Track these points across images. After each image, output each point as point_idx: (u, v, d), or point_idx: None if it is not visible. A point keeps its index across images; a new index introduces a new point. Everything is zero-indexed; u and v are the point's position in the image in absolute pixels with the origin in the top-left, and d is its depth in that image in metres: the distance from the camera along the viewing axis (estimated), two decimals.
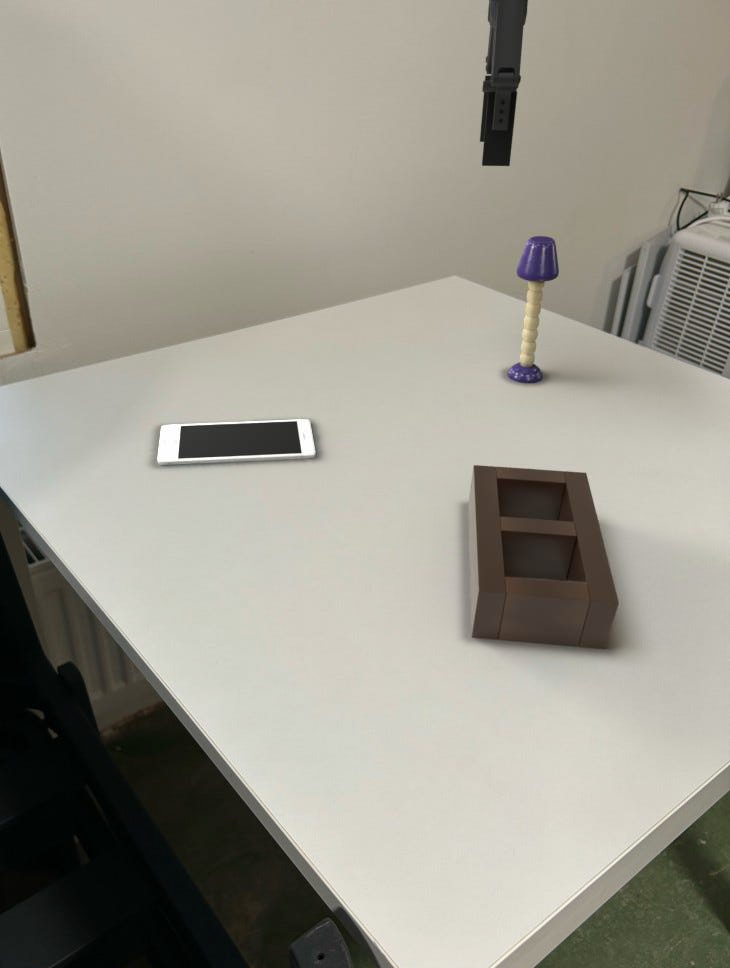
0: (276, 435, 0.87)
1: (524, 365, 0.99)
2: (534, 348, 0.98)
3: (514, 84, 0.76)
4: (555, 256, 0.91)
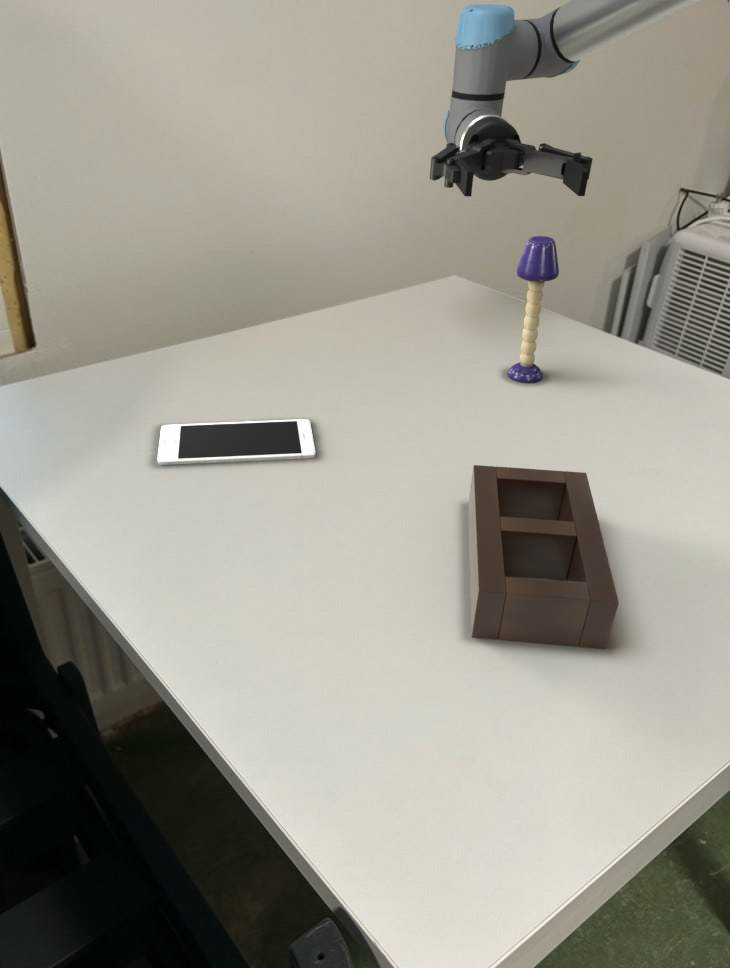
0: (276, 435, 0.87)
1: (524, 365, 0.99)
2: (534, 348, 0.98)
3: (433, 161, 1.01)
4: (555, 256, 0.91)
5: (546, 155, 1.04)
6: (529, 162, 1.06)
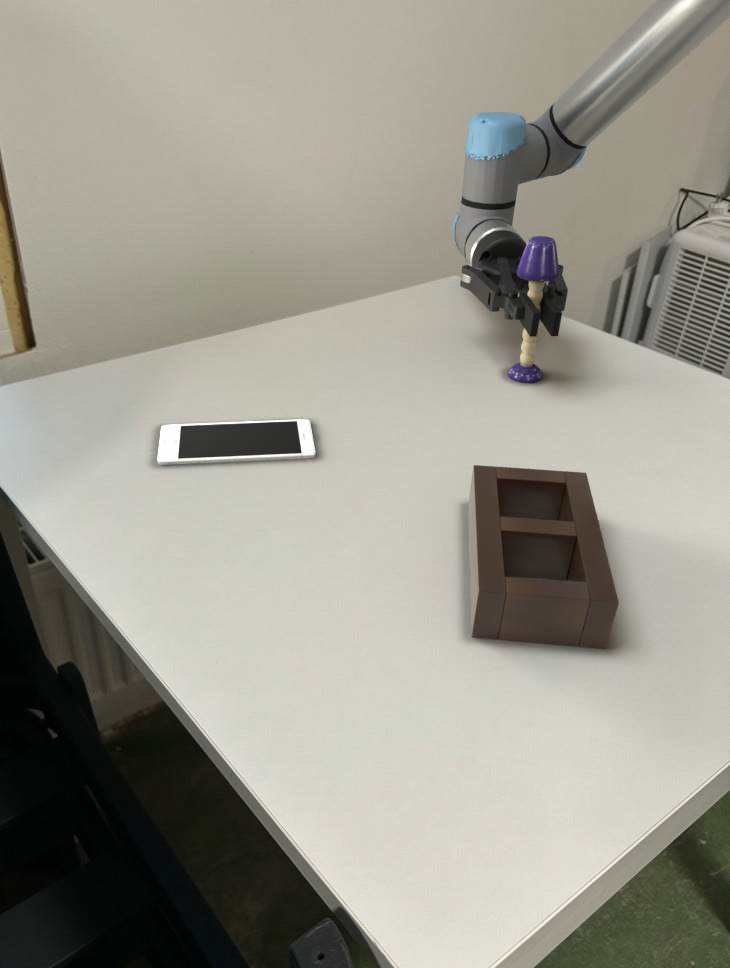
0: (276, 435, 0.87)
1: (524, 365, 0.99)
2: (534, 348, 0.98)
3: (496, 294, 0.96)
4: (555, 256, 0.91)
5: None
6: (525, 284, 1.02)
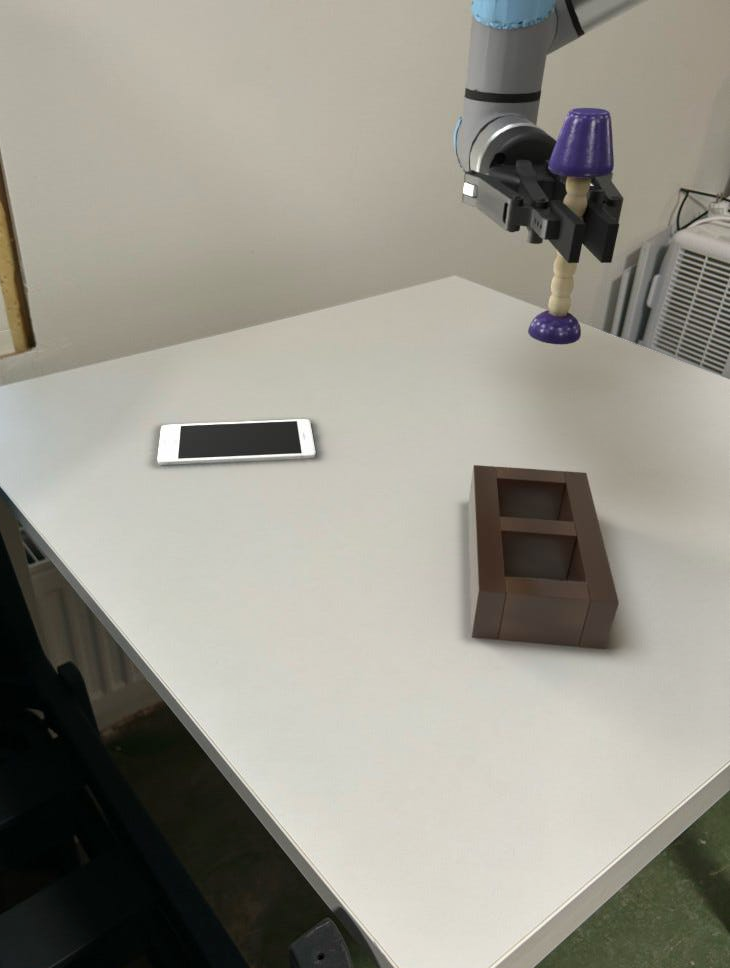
0: (276, 435, 0.87)
1: (555, 314, 0.67)
2: (571, 287, 0.65)
3: (516, 204, 0.64)
4: (610, 137, 0.59)
5: None
6: (557, 197, 0.69)
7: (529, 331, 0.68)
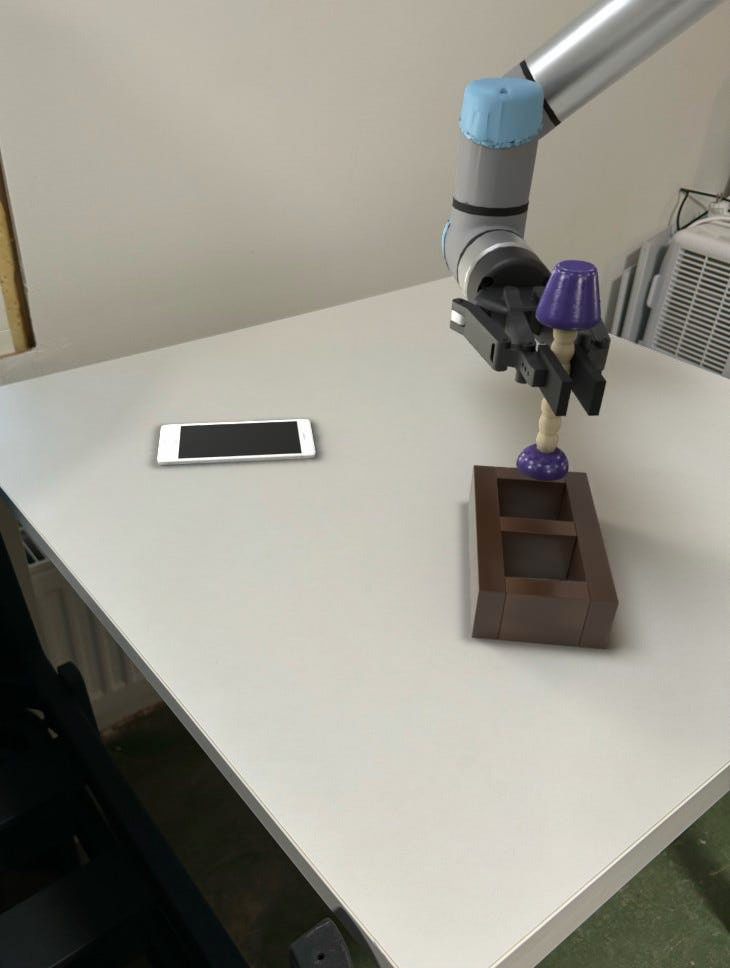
0: (276, 435, 0.87)
1: (543, 450, 0.67)
2: (558, 426, 0.65)
3: (503, 346, 0.64)
4: (597, 292, 0.58)
5: None
6: (545, 328, 0.69)
7: (517, 465, 0.68)
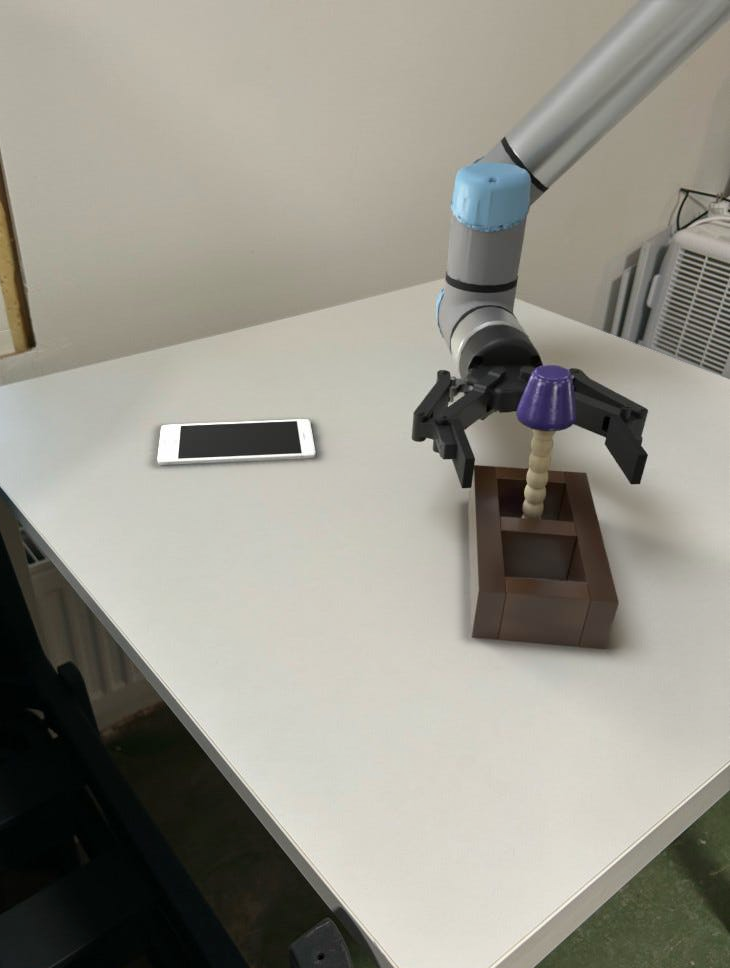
0: (276, 435, 0.87)
1: None
2: (541, 511, 0.70)
3: (416, 419, 0.70)
4: (572, 396, 0.63)
5: (580, 401, 0.72)
6: None
7: None
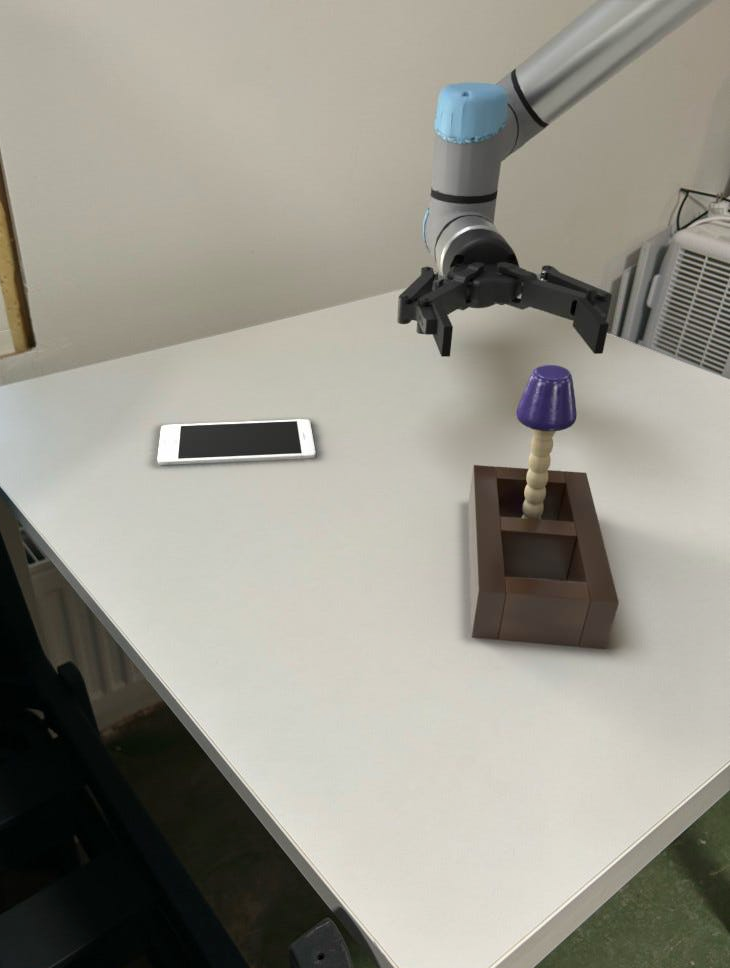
0: (276, 435, 0.87)
1: None
2: (541, 511, 0.70)
3: (401, 302, 0.77)
4: (572, 396, 0.63)
5: (551, 288, 0.79)
6: (528, 294, 0.81)
7: None
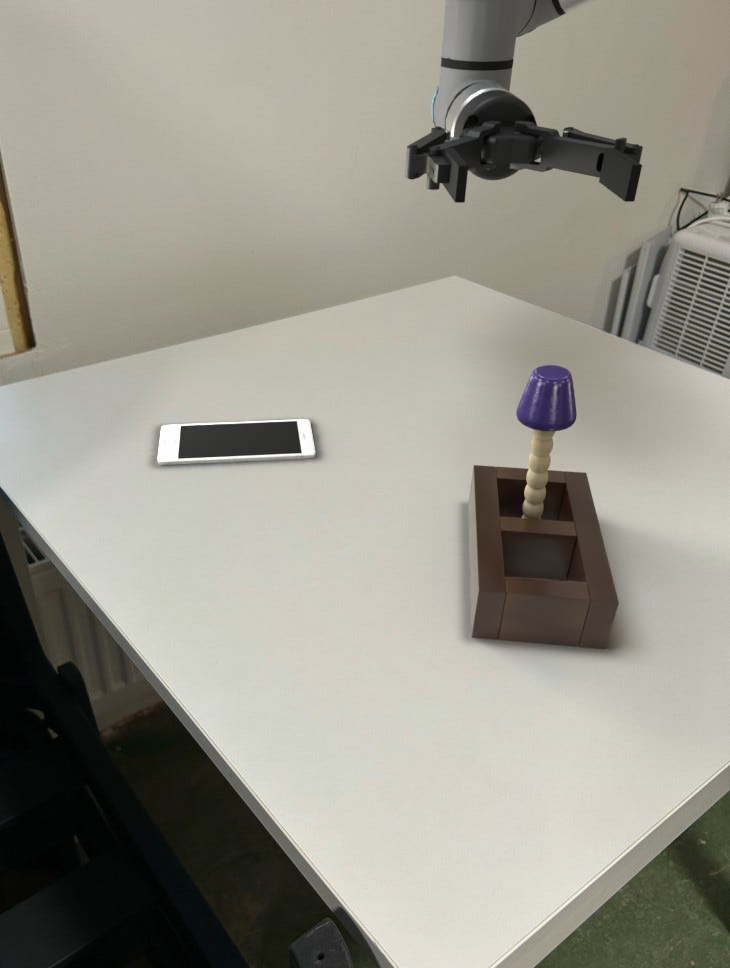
0: (276, 435, 0.87)
1: None
2: (541, 511, 0.70)
3: (410, 152, 0.69)
4: (572, 396, 0.63)
5: (575, 142, 0.72)
6: (550, 153, 0.74)
7: None
